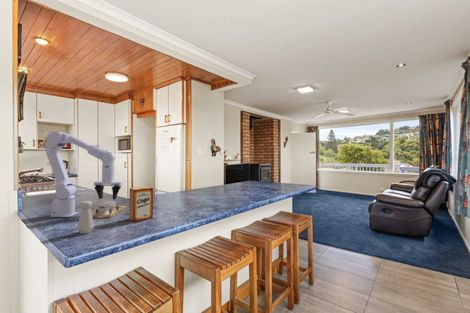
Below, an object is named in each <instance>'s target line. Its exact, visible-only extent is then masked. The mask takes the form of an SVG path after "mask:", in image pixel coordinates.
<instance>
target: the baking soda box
mask: <svg viewBox="0 0 470 313" xmlns="http://www.w3.org/2000/svg"><path fill="white" fill-rule="evenodd" d="M128 201H129V203H128V204H129V206H128V207H129V208H128V209H129V214H128V215H129V218H128V219H129V220H130V221H131V222H132V223H133V222H141V221H146V220H151V219H153V218H154V216H153V214H154V188H153V187H151V186H140V187H139V186H138V187H130V188H129V200H128Z"/></svg>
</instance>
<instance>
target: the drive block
mask: <svg viewBox="0 0 470 313" xmlns="http://www.w3.org/2000/svg"><path fill="white" fill-rule="evenodd" d="M115 206H116V201H115V200H108V201H105V202H101V203H99V204H97V207H98V208H97V209H98V214H107V213H109V210H110V209H112V211H114V210H115Z"/></svg>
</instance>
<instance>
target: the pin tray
mask: <svg viewBox="0 0 470 313" xmlns="http://www.w3.org/2000/svg"><path fill="white" fill-rule="evenodd" d="M126 211H128V206H127V205H126V206H123V205H122V206H121V205H119V206H118V205H115V210H114V211H112V209H110V210H109V213H107V214H98V208H96V209H93V210H91V213H92V218H95V219H111V218H113V217H114V218H115V216H118V215H120V214H122V213H124V212H126Z"/></svg>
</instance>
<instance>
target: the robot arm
mask: <svg viewBox="0 0 470 313" xmlns="http://www.w3.org/2000/svg"><path fill="white" fill-rule="evenodd" d="M45 138H46V143H45V148H44V150H45V153H46V156H47V158H48V162H49V165H50V167H51V168H50V169H51V171H52V172H53V176H54V179H55V181H56V183H55V186H54V187H55V197H56V198H54V199H53V200H52V202H51V215H50V217H51V218H69V217H72V216H76V215H78V214H79V213H80V212H79V211H78V212H77V211H76V194H77V193H78V188H77V186H76V185H75V184H74V182H73V181H72V180H71V179H70V178H69V175H68V174H69V173H67V169H66V166H65V164H64V160H63V158H62V155H61V153H60V152H61V149H63V147H64V146H66V145H67V144H71V145H75V146H77V147H80V148H81V149H83V150H85V151H87V154H88V155H90V156H93V157H94V158H96V159H98V160H100V161H101V162H102V164H101V165H102V166H101V181H94V182H93V186H94V187H93V188H94V190H95V191H96V193H97V196H98V200H102V199H103V198H104V188H105V186H106V187H111V190H112V201H115V200H117V196H118V194H119V191H120V190H121V188H122V187H123V182H121V181H115V161H116V155H115V154H114V153H113V152H112V151H111V152H110V151H109V150H108V149H104V148H102V147H100V145H99V144H89V143H88V142H86V141H84V140H82V139H80V138H78V137H77V136H76V135H75V136H74V135H73V134H69V133H67V132H62V131H58V130H53V131H51V132H49V133H48V134H47V136H46V137H45Z"/></svg>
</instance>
